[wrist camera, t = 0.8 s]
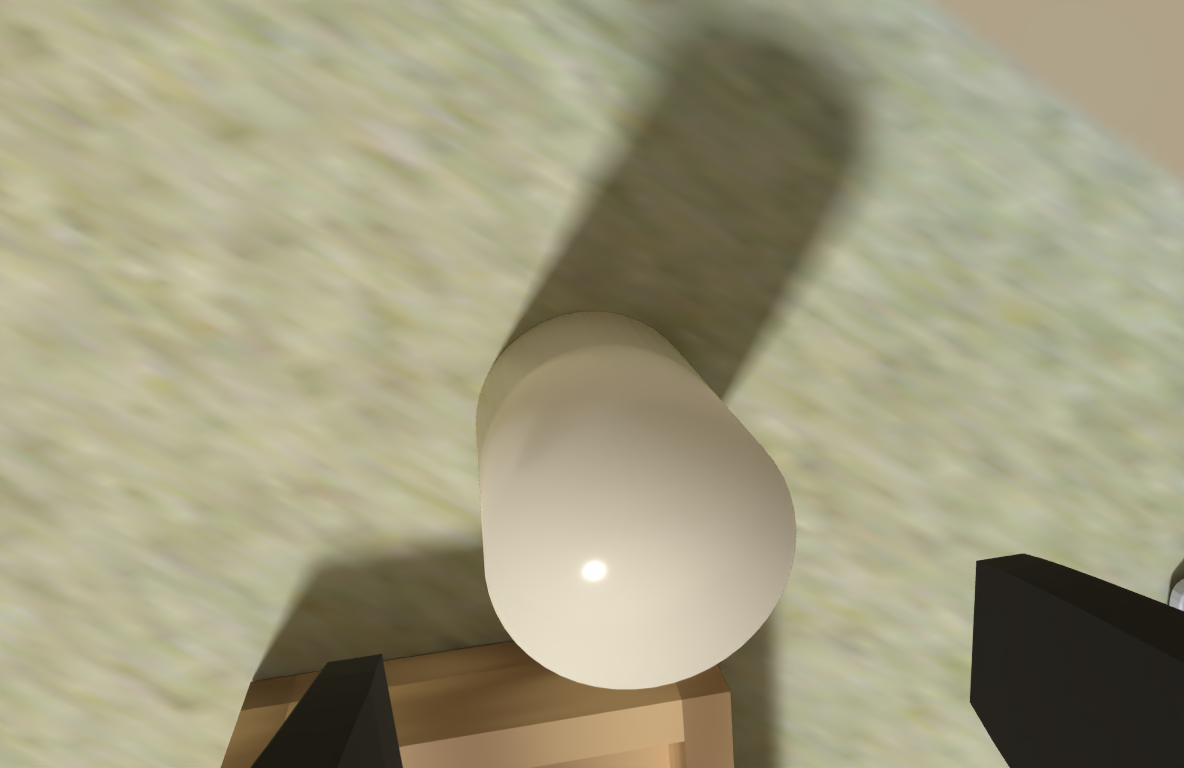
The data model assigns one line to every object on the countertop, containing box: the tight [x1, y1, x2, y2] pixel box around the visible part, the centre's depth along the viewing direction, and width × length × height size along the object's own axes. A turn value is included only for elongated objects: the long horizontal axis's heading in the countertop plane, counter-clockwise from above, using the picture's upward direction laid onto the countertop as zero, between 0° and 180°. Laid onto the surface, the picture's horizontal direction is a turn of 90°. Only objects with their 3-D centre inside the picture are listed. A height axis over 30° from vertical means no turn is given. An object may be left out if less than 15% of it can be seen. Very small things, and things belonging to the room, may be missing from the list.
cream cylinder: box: [476, 311, 796, 689], centre depth 17 cm, size 5×5×6 cm
